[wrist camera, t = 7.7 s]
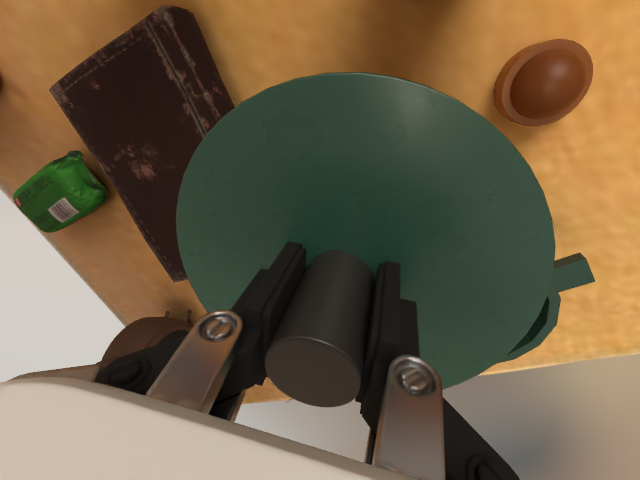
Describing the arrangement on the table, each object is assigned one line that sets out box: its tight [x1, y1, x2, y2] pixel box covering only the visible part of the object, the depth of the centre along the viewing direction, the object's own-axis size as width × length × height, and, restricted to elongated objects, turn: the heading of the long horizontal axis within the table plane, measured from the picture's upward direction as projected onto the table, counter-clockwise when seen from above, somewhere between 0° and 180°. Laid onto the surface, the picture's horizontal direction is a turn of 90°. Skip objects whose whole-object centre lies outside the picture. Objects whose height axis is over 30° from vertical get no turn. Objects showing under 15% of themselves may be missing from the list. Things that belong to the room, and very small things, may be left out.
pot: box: [497, 253, 595, 363], centre depth 31 cm, size 14×19×8 cm
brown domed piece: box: [494, 39, 593, 126], centre depth 23 cm, size 6×6×5 cm
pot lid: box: [176, 72, 555, 407], centre depth 11 cm, size 15×15×6 cm
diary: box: [49, 5, 235, 282], centre depth 35 cm, size 19×25×5 cm
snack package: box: [13, 151, 108, 233], centre depth 41 cm, size 7×16×5 cm, turn 117°
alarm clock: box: [96, 309, 192, 367], centre depth 43 cm, size 15×7×20 cm, turn 5°
